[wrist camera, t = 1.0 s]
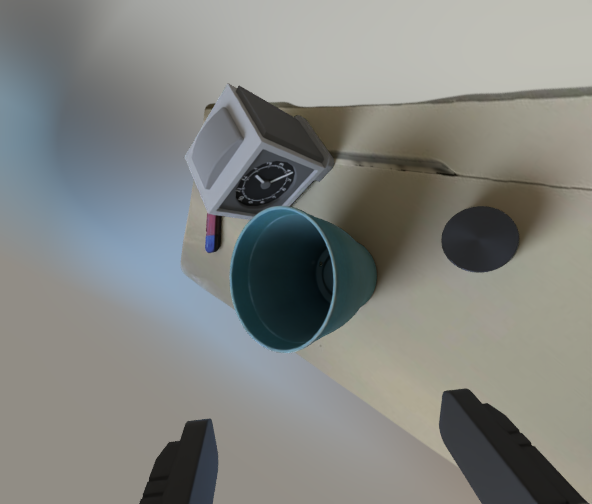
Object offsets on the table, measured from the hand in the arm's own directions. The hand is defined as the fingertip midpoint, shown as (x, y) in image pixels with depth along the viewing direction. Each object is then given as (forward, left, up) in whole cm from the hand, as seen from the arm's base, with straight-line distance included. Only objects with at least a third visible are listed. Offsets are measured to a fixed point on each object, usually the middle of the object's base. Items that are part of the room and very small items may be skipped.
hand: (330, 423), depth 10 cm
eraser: (+38, -43, -35) cm, 67 cm away
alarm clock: (+13, -37, -35) cm, 53 cm away
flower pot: (+14, -14, -35) cm, 40 cm away
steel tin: (-5, -6, -34) cm, 35 cm away
